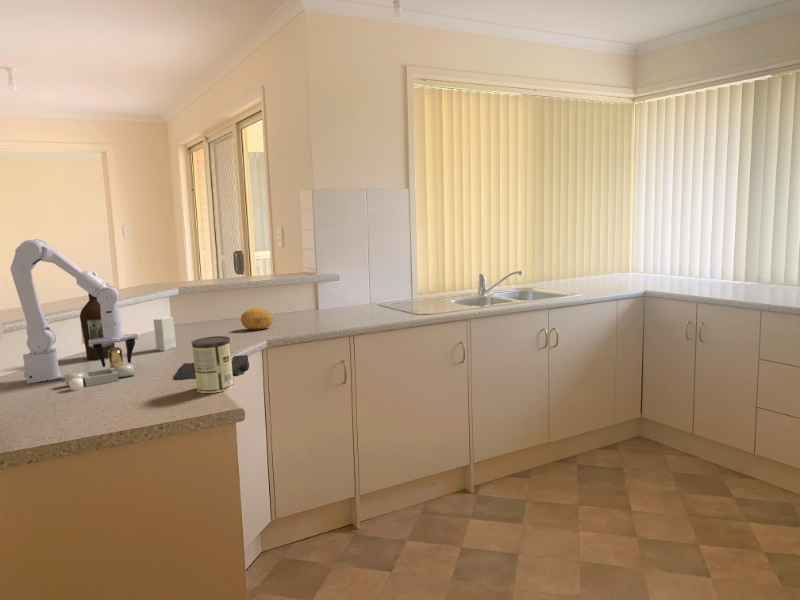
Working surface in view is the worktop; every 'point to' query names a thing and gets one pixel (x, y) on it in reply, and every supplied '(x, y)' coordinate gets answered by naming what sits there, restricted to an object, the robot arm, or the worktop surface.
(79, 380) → the pipe cap
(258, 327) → the potato
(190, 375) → the dark slate chunk
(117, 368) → the fitting socket
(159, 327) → the skincare box
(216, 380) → the coffee can
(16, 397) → the worktop surface
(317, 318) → the worktop surface
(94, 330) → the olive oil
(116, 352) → the gold metal cylinder
